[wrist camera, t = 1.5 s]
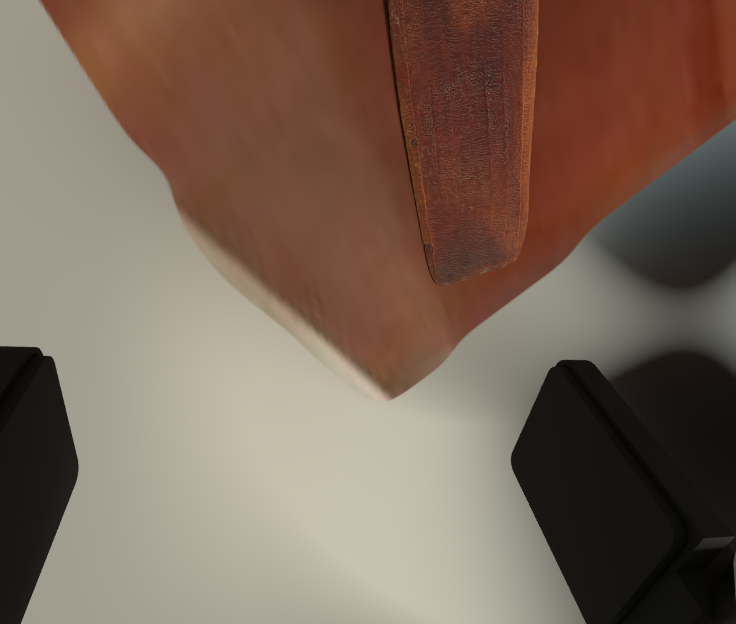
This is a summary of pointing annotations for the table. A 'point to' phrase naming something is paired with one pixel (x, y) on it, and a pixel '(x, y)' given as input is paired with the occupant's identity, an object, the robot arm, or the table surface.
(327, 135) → the table surface
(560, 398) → the robot arm
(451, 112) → the wooden tablet
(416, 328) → the table surface
